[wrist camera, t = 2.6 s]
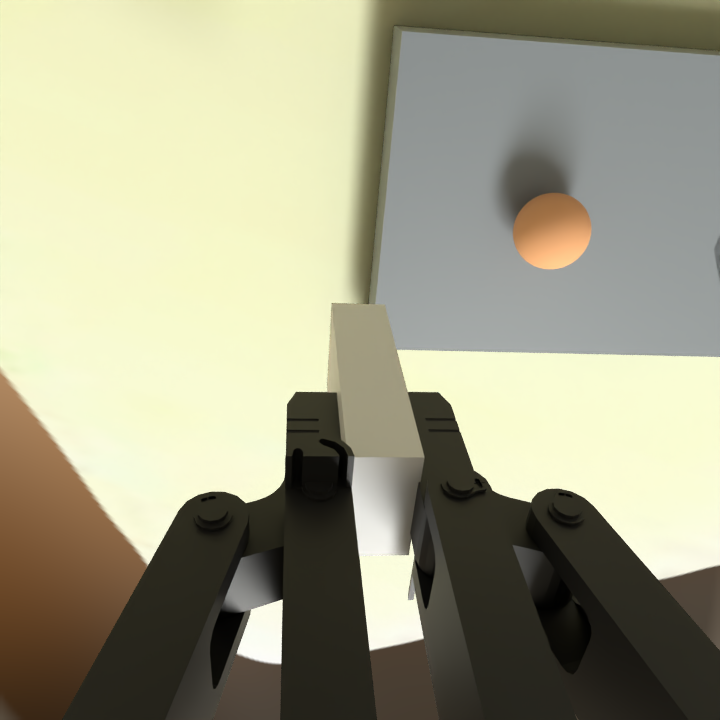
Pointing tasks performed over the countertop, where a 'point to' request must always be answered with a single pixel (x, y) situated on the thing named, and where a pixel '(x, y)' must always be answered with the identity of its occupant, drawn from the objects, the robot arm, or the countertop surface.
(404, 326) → the plate
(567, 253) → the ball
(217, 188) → the countertop surface
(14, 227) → the countertop surface
